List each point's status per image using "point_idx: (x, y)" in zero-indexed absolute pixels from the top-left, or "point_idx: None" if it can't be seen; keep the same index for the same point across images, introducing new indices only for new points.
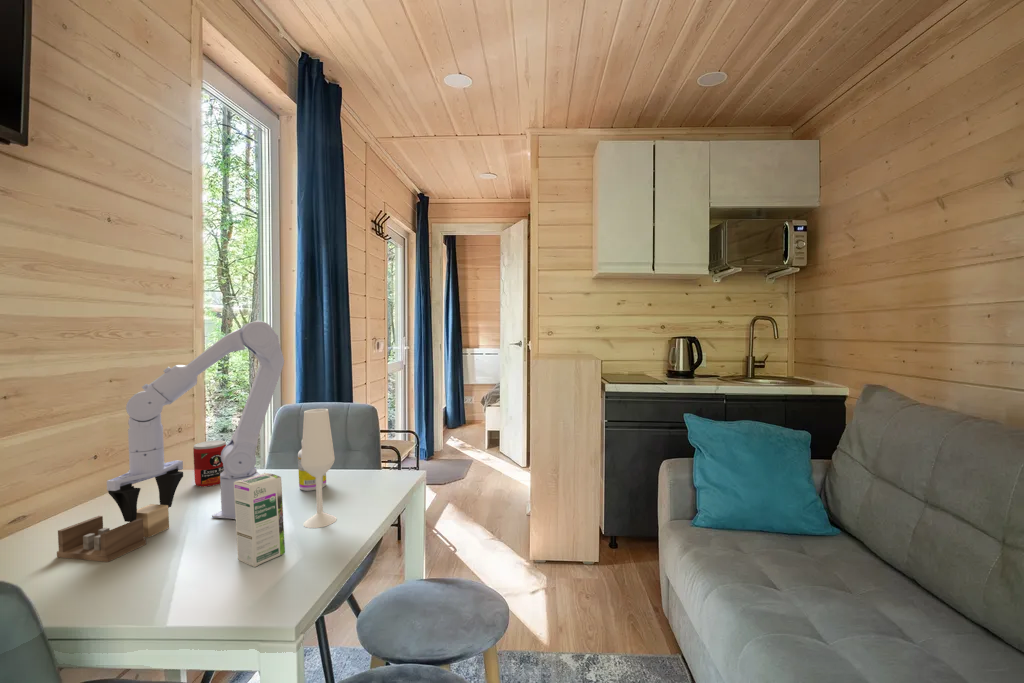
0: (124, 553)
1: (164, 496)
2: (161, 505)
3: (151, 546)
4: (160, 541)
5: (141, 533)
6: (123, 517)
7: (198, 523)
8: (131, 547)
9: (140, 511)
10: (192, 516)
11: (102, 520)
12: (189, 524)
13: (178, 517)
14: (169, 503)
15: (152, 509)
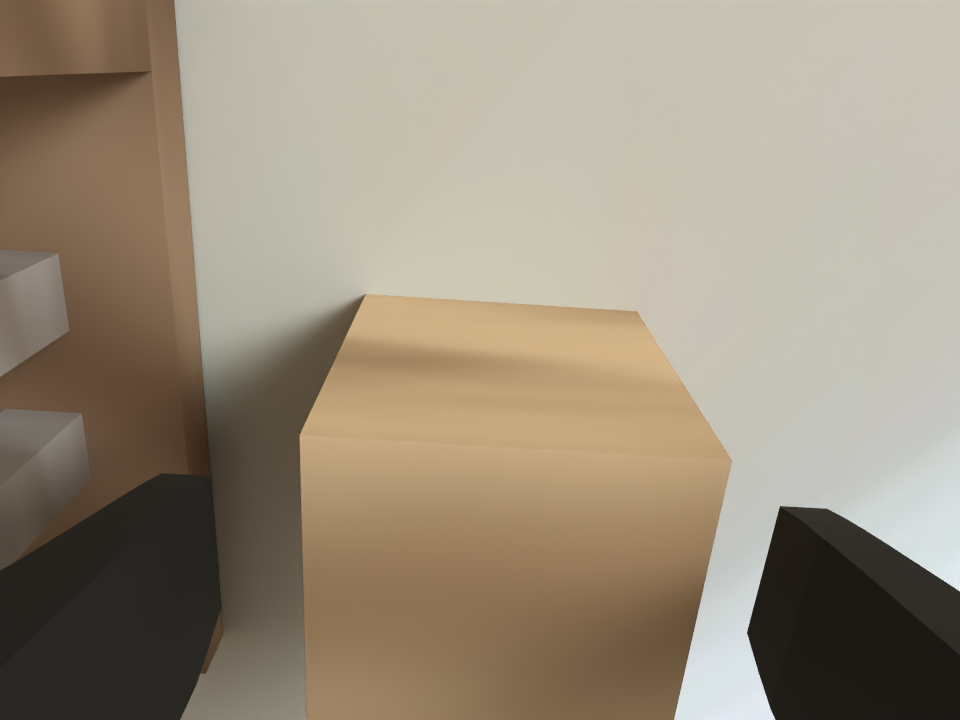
0: None
1: (864, 710)
2: (648, 690)
3: (203, 704)
4: (304, 697)
5: None
6: (117, 502)
7: (716, 715)
8: None
9: (364, 589)
10: (930, 528)
11: (13, 74)
12: (694, 656)
13: (923, 391)
14: (769, 702)
15: (465, 698)
